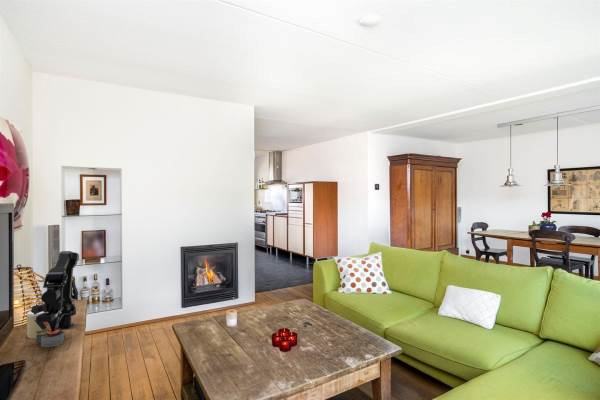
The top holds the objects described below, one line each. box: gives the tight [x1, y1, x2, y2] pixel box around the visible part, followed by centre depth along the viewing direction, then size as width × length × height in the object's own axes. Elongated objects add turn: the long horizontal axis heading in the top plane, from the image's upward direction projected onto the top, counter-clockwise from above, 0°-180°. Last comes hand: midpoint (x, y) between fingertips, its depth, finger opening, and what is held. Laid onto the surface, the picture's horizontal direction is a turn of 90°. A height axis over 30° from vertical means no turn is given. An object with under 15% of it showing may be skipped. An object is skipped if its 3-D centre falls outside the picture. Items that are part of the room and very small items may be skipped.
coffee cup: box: [26, 310, 50, 339], centre depth 163 cm, size 9×9×12 cm
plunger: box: [47, 329, 60, 335], centre depth 154 cm, size 4×4×5 cm
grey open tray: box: [35, 330, 65, 348], centre depth 154 cm, size 8×11×4 cm
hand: (53, 330), depth 154 cm, fingers closed, pressing on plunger
